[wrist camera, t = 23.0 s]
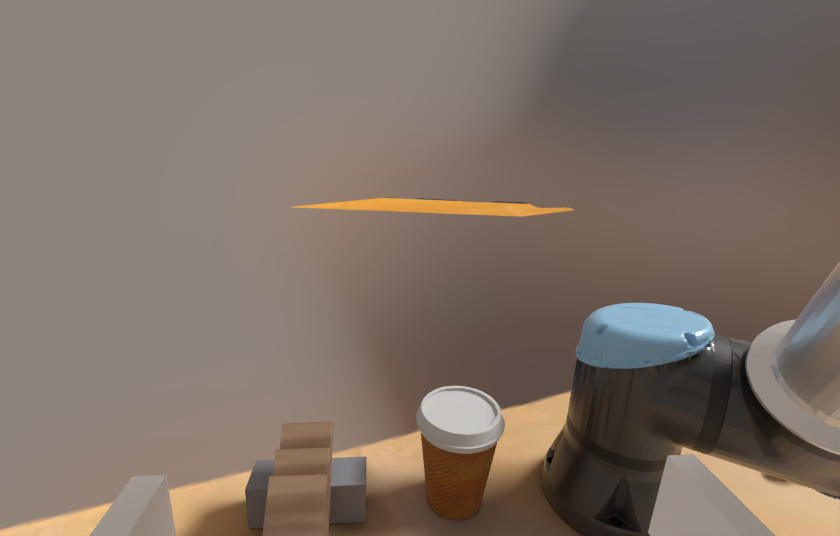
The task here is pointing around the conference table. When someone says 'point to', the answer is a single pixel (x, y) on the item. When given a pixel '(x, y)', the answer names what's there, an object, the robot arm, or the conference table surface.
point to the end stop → (343, 493)
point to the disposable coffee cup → (458, 447)
